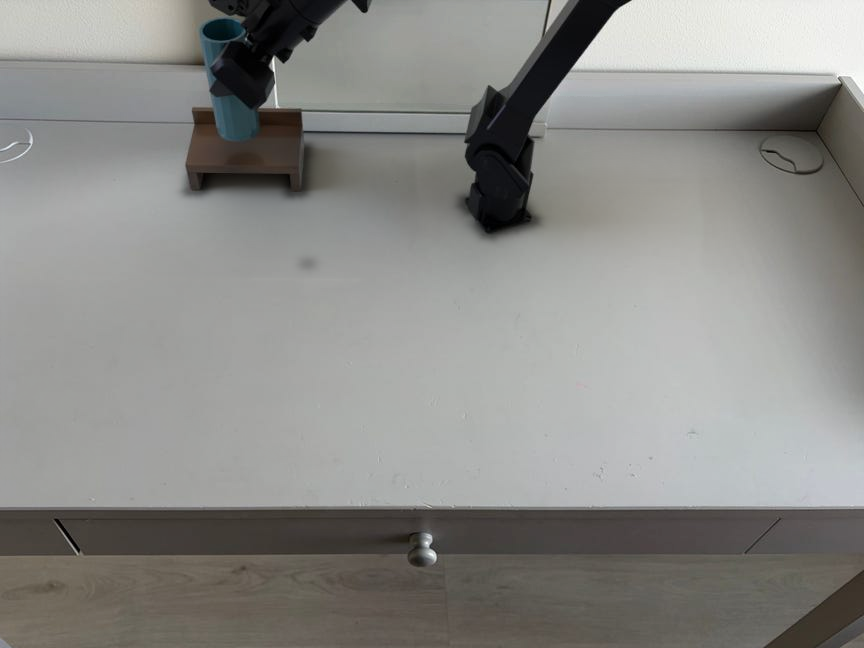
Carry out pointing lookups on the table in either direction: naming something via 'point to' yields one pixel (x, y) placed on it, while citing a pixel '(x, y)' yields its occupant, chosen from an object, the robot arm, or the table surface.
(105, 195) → the table surface
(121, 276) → the table surface
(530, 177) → the robot arm
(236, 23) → the teal cylindrical vase
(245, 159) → the shelf
